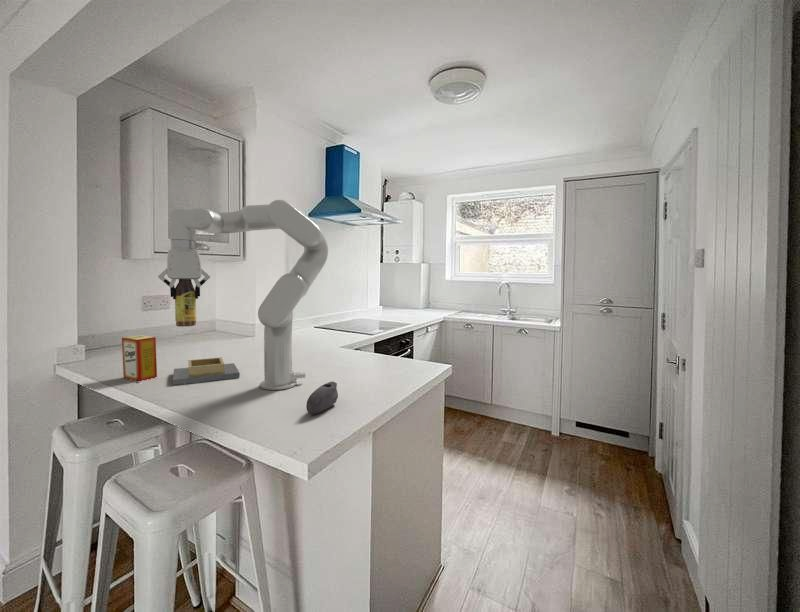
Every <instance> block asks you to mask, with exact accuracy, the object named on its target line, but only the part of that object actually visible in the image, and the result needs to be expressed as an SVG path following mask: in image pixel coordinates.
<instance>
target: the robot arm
mask: <svg viewBox="0 0 800 612" xmlns="http://www.w3.org/2000/svg"><path fill="white" fill-rule="evenodd" d="M196 230H197V231H202V232H206V233H209V234H213V235H219V234H234V233H235V234H236V233H243V232H244V233H245V232H250V231H251V232H252V231H267V230H281V231H282V232H284V233H285V234H286V235H288V236H289V237H290V238H292V239H293V240H294V241H295V242H297V243H298V244H299V245H300V246H302V247H303V250H304V251H303V253H302V255H301V256H300V257H299V258H298V260H297V261H296V263H295V264H294V266H293V267H292V268H291V270H290V271H289V272H288V273H284V274H283V275H281V276H280V277H279V278H278V280H277V281H276V282H275V283H274V285H273V286H272V288H271V289H270V291H269V292H268V294H267V295H266V297H265V298H264V300H263V301H262V302H261V304H260V306H259V308H258V309H257V310H258V311H257V318H258V320H259V322H260V324H261V325H263V326H264V327H263V329H264V330H263V337H264V338H263V355H264V356H263V357H264V358H263V359H264V360H263V362H264V364H263V365H264V367H263V368H264V371H263V372H264V380H262V381H261V382H260V383H259V386H260V388H261V389H262V390H263V389H264V390H268V391H278V390H279V391H281V390H286V389H290V388H293V387H295V386H296V385H297V383H298V382H297V380H298V379H305V378H306V373H305V372H299V371H298V372H294V371H293V319H294V318H293V315H294V314H293V313H294V312H293V311H294V309H295V308H296V306H297V305H298V303H299V302H300V301H301V299H303V298H304V297H305V295H306V294H307V292H308V291H309V289H310V287H311V286H312V284H313V283H314V281H315V280H316V278H317V276H318V275H319V274H320V272H321V270H322V269H323V267H324V266H325V264H326V261H327V259H328V256H329V247H328V243H327V242H328V241H327V240H326V237H325V236H324V233H323V232H322V230H321V229H320V228H319V226H318V225H317V224H316V223H314V221H312V220H311V219H309V217H307V216H306V215H304V214H303V213H302V212H300V211H299V210H298V209H296V207H294V205H292V204H291V203H289V202H288V201H286V200H284V199H275V200H273V201H271V202H270V203H269V204H252V205H251V204H249V205H245V206H243V207H242V208H241V209H239V210H237V211H228V212H226V211H225V212H215V211H213V210H211V209H208V208H204V207H198V208H197V207H196V208H182V207H181V208H180V207H178V208H177V207H176V208H172V209H170V210H169V232H170V234H169V235H170V236H169V237H170V249H168V250H167V257H166V269H164V270H163V271H162V272H161V273H160V274H158V276H157V278H158V279H159V280H161V281H162V282H163V283H165V285H166V286H168V287H169V289H170V297H171V298H172V299H173V300H175V299H176V295H175V288H176V286H175V283H176V281H177V280H179V279H191V280H193V281H194V284H195V287H194V289H195V294H196V300H198V299H199V297H201V287H202V286H203V285H204V284H205V283H206V282H208V280H209V279H210V278H211V276H210V275H209V274H208V272H206V271H205V270H204V269H203V268H202V263H201V262H202V261H201V256H200V251H199V250H197V249H198V248H202V243H199V242H197V235H196V233H197V231H196ZM166 275H167V277H168V278H169V279H171V281H169V280H168V279H167V278H166V277H165V276H166ZM202 276H203V278H202ZM201 278H202V279H201ZM199 279H201V280H200V281H199Z"/></svg>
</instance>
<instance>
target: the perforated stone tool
mask: <svg viewBox="0 0 800 612" xmlns="http://www.w3.org/2000/svg"><path fill="white" fill-rule="evenodd" d="M337 385H338V384H337V382H335V381H329V382H326V383H324V384H322V385H320V386H319V387H317V388H316V389H315V390H314V391H312V393H311V394H310V395H309V397H308V399H307V401H306V411H307V413H308V414H309V415H318V414H319V413H322V412H325V411H327V410H328V409H330V408H332V406H333V405H334V404H336V403H337V400H338V398H339V393H338V388H337V387H338V386H337Z"/></svg>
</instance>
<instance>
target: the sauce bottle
mask: <svg viewBox="0 0 800 612" xmlns="http://www.w3.org/2000/svg"><path fill="white" fill-rule="evenodd" d="M175 295H176V299H174V308H175V310H174V311H175V314H174V315H175V317H174V318H175V325H176V327H192V326H196V324H197V303H196V302H197V299H196V294H195V287H194V284H193V282H192V279H178V283H176V286H175Z"/></svg>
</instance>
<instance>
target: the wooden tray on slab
mask: <svg viewBox="0 0 800 612" xmlns="http://www.w3.org/2000/svg"><path fill="white" fill-rule="evenodd" d="M187 361H188V362H187V364H188V365H187V366H188V367H179V368H173V374H172V375H173V376H172V385H173V386H179V385H178V384H181V385H187V384H186V383H190V384H197V383H196V382H199V383H206V382H205V381H208V382H215V381H214V380H216V381H222V380H223V379H225V380H231V378H234V379H240V378H239V377H240V372H239V369H238V367H237V366H236V364H235V363H234V362H233V363H232V362H231V363H225V362H224V360H223V358H222V356H221V357H211V358H209V357H208V358H201V359H200V358H199V359H198V358H197V359H189V360H187ZM223 381H224V380H223Z"/></svg>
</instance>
